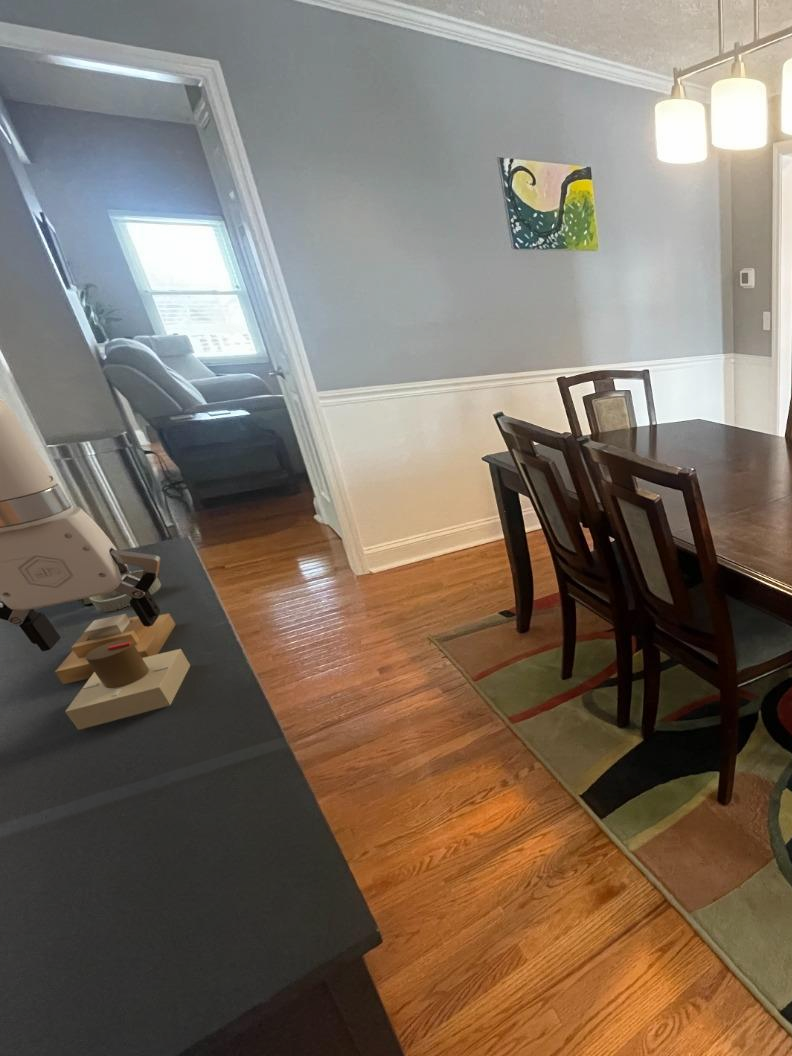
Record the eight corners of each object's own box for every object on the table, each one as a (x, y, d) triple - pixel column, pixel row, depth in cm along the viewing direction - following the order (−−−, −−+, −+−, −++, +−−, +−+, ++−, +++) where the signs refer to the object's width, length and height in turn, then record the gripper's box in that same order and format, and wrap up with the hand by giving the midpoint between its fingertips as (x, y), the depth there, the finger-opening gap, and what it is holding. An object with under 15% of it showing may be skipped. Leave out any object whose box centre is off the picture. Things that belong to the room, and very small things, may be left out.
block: (63, 684, 83) (47, 661, 81) (96, 642, 92) (82, 620, 90) (152, 662, 87) (138, 640, 85) (175, 624, 96) (163, 603, 94)
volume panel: (78, 730, 74) (63, 710, 73) (107, 686, 82) (95, 667, 80) (170, 705, 78) (158, 686, 76) (190, 665, 86) (180, 647, 84)
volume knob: (98, 692, 76) (77, 661, 74) (110, 674, 79) (91, 644, 77) (143, 680, 78) (124, 650, 75) (153, 663, 81) (135, 634, 79)
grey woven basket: (153, 585, 109) (139, 561, 107) (173, 590, 107) (159, 566, 104) (88, 610, 101) (72, 584, 99) (108, 616, 99) (92, 590, 97)
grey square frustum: (90, 642, 86) (83, 631, 85) (99, 630, 88) (93, 620, 88) (123, 634, 87) (116, 624, 86) (131, 623, 90) (125, 613, 89)
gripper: (-113, 538, 61) (-7, 671, 69) (108, 501, 68) (181, 626, 76) (-69, 515, 67) (24, 640, 75) (130, 483, 74) (196, 600, 82)
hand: (103, 633), depth 75 cm, fingers open, 9 cm apart
